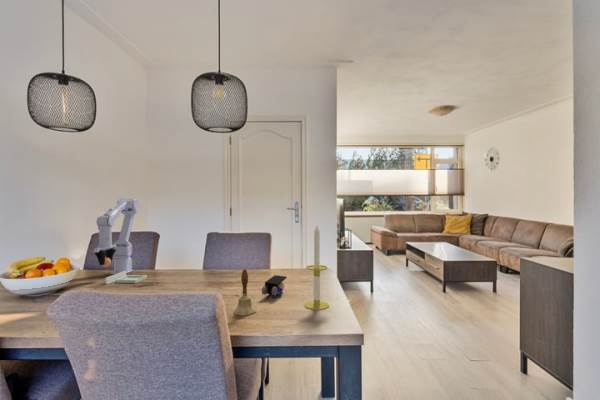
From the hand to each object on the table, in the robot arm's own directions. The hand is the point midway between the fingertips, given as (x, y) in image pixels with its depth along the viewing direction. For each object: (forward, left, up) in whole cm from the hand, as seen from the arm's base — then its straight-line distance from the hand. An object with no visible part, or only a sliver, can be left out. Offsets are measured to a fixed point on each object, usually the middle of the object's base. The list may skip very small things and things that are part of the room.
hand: (105, 263), depth 172 cm
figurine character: (+21, +93, -9) cm, 96 cm away
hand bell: (+43, +85, -9) cm, 96 cm away
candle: (+34, +112, -9) cm, 118 cm away
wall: (0, +6, -8) cm, 10 cm away
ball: (0, 0, -2) cm, 2 cm away
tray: (0, +14, -8) cm, 17 cm away
